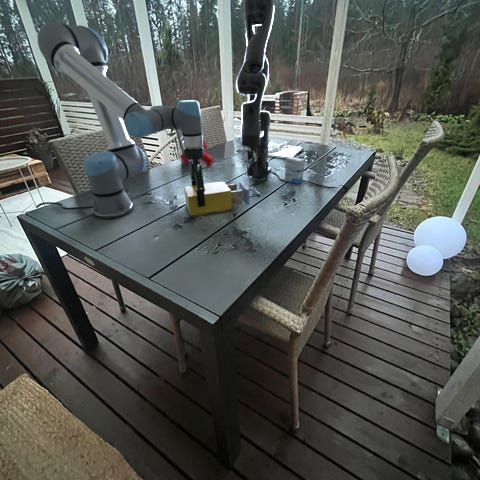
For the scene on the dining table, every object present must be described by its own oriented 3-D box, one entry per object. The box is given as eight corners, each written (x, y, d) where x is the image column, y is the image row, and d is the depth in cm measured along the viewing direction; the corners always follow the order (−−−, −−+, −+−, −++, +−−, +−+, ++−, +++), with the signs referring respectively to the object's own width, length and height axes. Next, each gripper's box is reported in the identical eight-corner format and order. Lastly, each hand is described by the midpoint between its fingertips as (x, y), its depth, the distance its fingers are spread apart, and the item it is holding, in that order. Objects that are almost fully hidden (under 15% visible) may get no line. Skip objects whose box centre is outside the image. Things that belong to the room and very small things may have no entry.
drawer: (253, 194, 126) (253, 179, 122) (261, 202, 118) (261, 187, 114) (207, 201, 120) (206, 186, 116) (212, 210, 112) (211, 195, 108)
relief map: (291, 159, 177) (291, 151, 174) (243, 153, 190) (243, 145, 187) (302, 149, 197) (303, 142, 194) (258, 144, 211) (258, 137, 208)
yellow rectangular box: (224, 200, 123) (223, 181, 118) (231, 210, 114) (231, 190, 109) (186, 206, 119) (183, 186, 114) (190, 217, 110) (188, 197, 105)
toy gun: (217, 159, 166) (202, 137, 162) (214, 161, 163) (199, 139, 159) (198, 174, 176) (183, 154, 172) (195, 176, 173) (180, 156, 169)
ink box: (302, 181, 142) (305, 159, 136) (297, 184, 139) (300, 161, 133) (289, 177, 147) (291, 156, 141) (284, 180, 144) (285, 158, 138)
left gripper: (178, 140, 110) (185, 191, 122) (188, 156, 91) (195, 214, 103) (197, 139, 112) (201, 188, 124) (210, 153, 93) (214, 210, 105)
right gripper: (236, 129, 110) (236, 171, 119) (247, 136, 99) (247, 181, 109) (253, 128, 112) (252, 169, 121) (266, 135, 101) (264, 179, 111)
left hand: (198, 200), depth 113 cm, fingers closed on yellow rectangular box, 11 cm apart
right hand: (250, 175), depth 115 cm, fingers closed
